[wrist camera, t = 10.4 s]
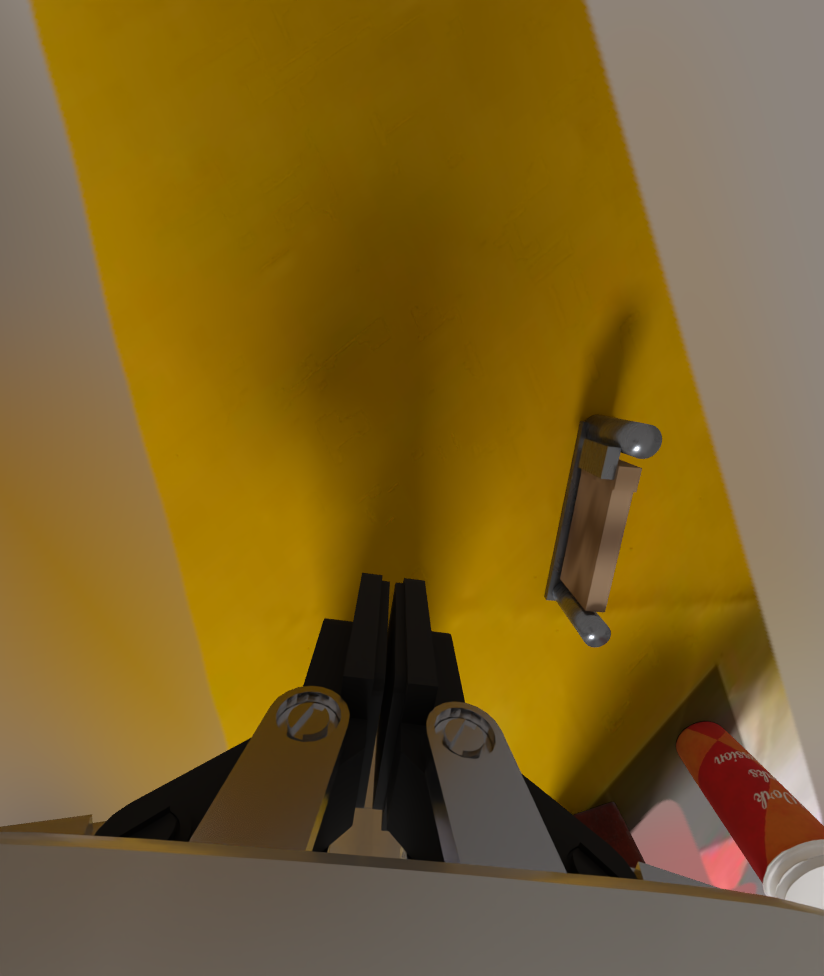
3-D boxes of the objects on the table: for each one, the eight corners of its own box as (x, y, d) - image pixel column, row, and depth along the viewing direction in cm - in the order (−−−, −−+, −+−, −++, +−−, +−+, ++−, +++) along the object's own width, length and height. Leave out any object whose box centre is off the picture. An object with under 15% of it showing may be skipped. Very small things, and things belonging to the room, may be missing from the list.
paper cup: (750, 733, 46) (897, 883, 32) (700, 779, 47) (822, 941, 34) (699, 700, 44) (830, 843, 31) (650, 750, 46) (755, 906, 32)
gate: (577, 580, 39) (607, 614, 33) (559, 578, 39) (586, 613, 33) (604, 453, 36) (641, 468, 30) (584, 452, 36) (619, 466, 30)
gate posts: (574, 600, 41) (612, 648, 34) (539, 597, 41) (569, 645, 33) (615, 416, 36) (669, 426, 29) (576, 412, 36) (621, 421, 29)
